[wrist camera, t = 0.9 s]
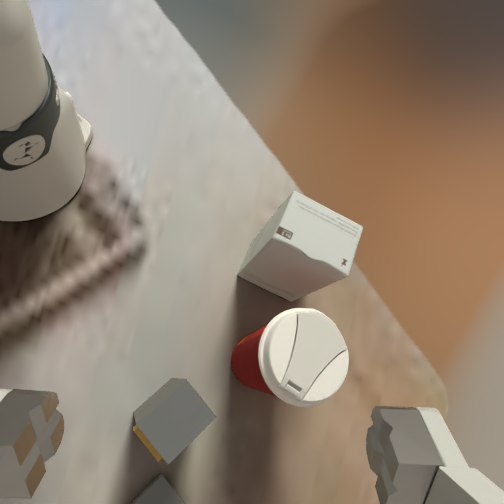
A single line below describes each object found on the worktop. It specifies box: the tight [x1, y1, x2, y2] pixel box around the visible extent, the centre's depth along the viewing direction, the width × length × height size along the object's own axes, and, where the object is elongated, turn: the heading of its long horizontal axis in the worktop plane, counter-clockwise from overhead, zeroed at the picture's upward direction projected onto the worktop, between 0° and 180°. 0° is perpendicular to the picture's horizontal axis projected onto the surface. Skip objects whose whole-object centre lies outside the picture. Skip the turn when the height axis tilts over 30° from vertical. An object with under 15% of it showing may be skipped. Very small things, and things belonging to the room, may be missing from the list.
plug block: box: [133, 378, 216, 465], centre depth 36 cm, size 4×6×11 cm
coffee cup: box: [231, 308, 349, 407], centre depth 38 cm, size 8×8×15 cm
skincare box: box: [237, 191, 363, 302], centre depth 42 cm, size 8×6×15 cm
